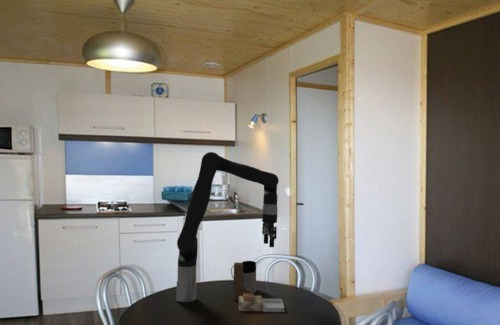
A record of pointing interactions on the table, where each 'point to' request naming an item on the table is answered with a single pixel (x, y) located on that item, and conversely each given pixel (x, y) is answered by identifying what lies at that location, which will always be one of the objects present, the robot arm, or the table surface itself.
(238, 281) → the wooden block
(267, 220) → the robot arm
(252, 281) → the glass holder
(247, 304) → the beige patterned box
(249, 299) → the tile
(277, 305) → the tray
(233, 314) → the table surface
